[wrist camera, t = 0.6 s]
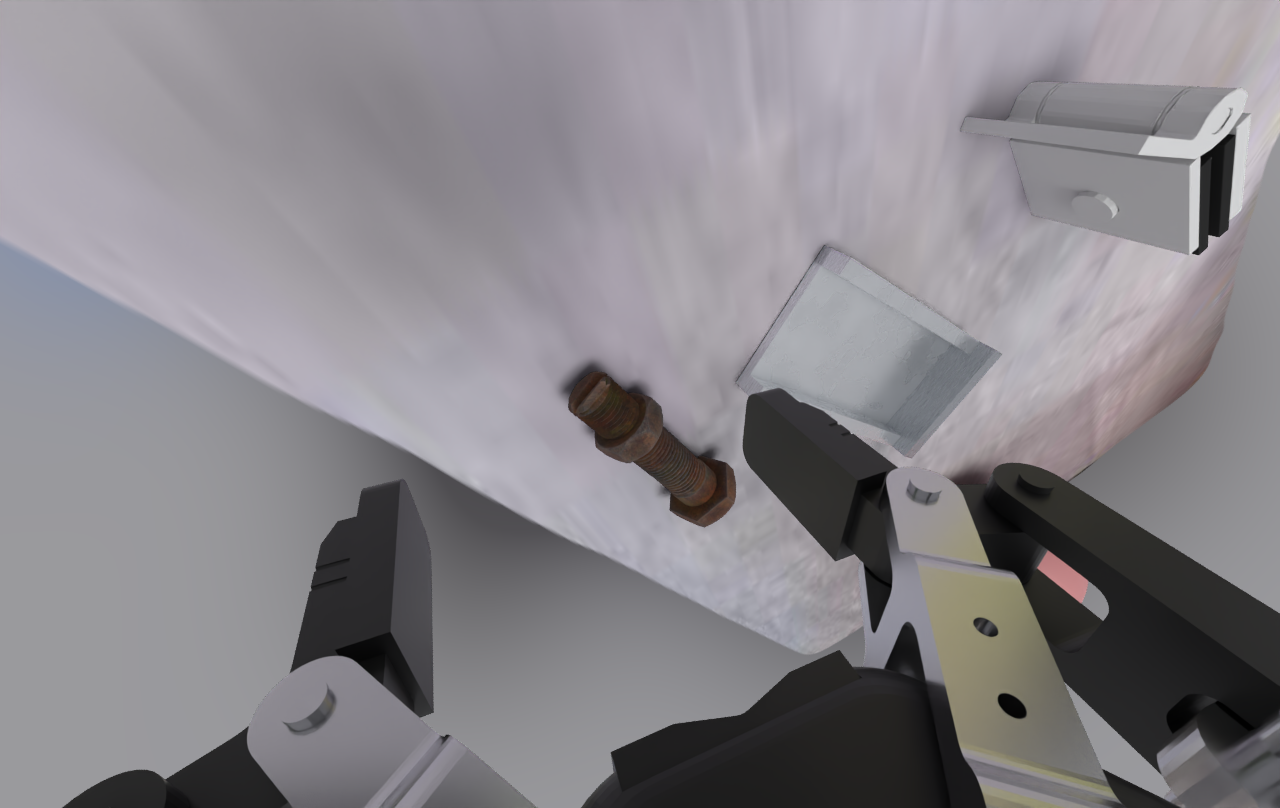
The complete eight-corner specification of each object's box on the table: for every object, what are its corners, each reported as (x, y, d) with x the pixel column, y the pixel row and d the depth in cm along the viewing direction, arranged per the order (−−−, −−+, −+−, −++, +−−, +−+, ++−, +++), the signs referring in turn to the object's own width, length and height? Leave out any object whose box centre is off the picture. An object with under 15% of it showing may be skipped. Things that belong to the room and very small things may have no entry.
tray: (824, 245, 32) (867, 264, 29) (960, 332, 42) (1002, 354, 39) (735, 382, 36) (765, 412, 33) (878, 432, 46) (911, 458, 43)
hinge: (955, 129, 30) (1136, 151, 23) (1019, 37, 28) (1240, 27, 21) (1037, 224, 38) (1194, 265, 30) (1092, 157, 36) (1275, 182, 28)
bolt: (578, 353, 32) (694, 459, 41) (537, 416, 31) (667, 512, 40) (635, 358, 28) (750, 476, 37) (590, 432, 26) (722, 535, 35)
